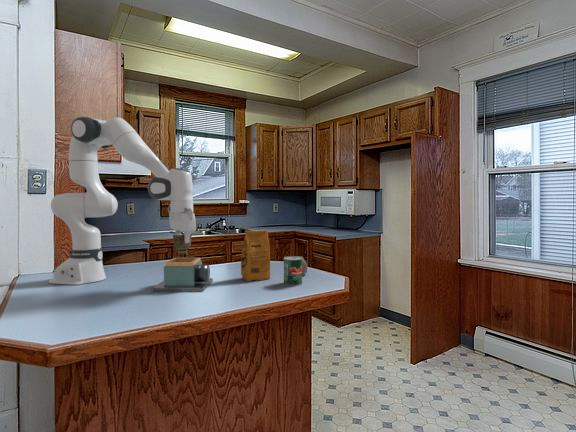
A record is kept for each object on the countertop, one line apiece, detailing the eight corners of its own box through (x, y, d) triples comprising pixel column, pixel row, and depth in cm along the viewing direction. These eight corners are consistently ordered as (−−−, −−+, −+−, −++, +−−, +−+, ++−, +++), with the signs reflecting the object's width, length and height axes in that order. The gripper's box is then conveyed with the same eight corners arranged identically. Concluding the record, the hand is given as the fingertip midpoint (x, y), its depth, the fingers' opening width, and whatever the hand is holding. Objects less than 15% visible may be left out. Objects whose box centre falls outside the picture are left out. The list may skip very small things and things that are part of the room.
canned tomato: (296, 286, 146) (296, 260, 145) (280, 284, 150) (279, 258, 150) (305, 282, 153) (305, 257, 152) (290, 280, 157) (289, 255, 156)
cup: (195, 253, 148) (195, 233, 148) (183, 254, 142) (183, 234, 142) (181, 252, 152) (181, 234, 152) (169, 254, 145) (168, 234, 145)
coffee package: (239, 277, 163) (238, 229, 162) (265, 275, 168) (264, 228, 167) (245, 282, 154) (244, 231, 153) (272, 279, 159) (271, 230, 157)
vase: (309, 274, 169) (309, 255, 169) (305, 277, 163) (305, 258, 162) (295, 273, 172) (295, 255, 171) (290, 276, 165) (290, 257, 165)
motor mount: (152, 291, 140) (151, 263, 140) (167, 281, 156) (166, 256, 156) (202, 291, 140) (202, 263, 139) (212, 281, 156) (212, 256, 155)
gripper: (199, 208, 140) (200, 243, 140) (180, 207, 156) (181, 238, 157) (183, 208, 136) (184, 244, 137) (166, 207, 152) (167, 240, 153)
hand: (182, 241), depth 147 cm, fingers closed on cup, 7 cm apart
